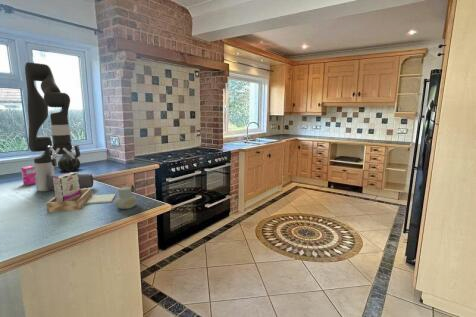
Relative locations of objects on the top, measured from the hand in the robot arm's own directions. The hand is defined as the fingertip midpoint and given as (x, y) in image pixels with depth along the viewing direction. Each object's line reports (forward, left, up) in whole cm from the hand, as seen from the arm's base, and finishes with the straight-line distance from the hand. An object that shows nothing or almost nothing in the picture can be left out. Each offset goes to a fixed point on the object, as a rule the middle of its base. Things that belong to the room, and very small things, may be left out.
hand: (64, 166), depth 133 cm
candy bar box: (0, 0, -21) cm, 21 cm away
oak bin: (0, +3, -21) cm, 21 cm away
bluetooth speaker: (-8, +28, -21) cm, 36 cm away
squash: (-28, +88, -21) cm, 95 cm away
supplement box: (-39, +50, -21) cm, 67 cm away
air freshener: (+29, -10, -21) cm, 37 cm away
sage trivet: (+14, +6, -21) cm, 26 cm away
